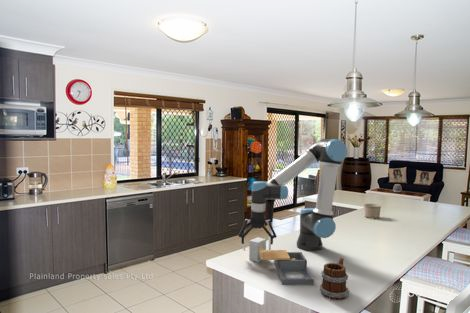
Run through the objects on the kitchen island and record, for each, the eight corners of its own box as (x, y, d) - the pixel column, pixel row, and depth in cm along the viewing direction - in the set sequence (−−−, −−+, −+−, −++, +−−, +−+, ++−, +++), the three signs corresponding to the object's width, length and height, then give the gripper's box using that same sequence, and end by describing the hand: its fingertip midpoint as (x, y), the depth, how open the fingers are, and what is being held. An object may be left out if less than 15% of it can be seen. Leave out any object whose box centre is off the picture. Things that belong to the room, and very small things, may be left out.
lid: (286, 251, 172) (286, 245, 172) (290, 259, 161) (290, 253, 161) (258, 251, 172) (259, 245, 172) (261, 259, 160) (261, 253, 160)
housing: (301, 263, 173) (301, 252, 173) (313, 284, 148) (314, 271, 148) (274, 263, 173) (274, 252, 172) (282, 284, 148) (282, 271, 147)
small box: (257, 255, 184) (257, 236, 183) (266, 258, 180) (266, 238, 180) (248, 259, 178) (249, 240, 177) (257, 262, 174) (257, 242, 174)
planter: (368, 215, 283) (369, 203, 283) (383, 218, 274) (383, 205, 273) (360, 217, 275) (361, 204, 275) (375, 220, 266) (376, 207, 265)
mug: (313, 295, 138) (317, 258, 139) (326, 289, 149) (329, 255, 150) (341, 304, 131) (345, 265, 132) (352, 296, 142) (355, 261, 143)
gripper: (280, 209, 182) (279, 248, 183) (234, 208, 181) (233, 247, 182) (282, 212, 174) (281, 252, 175) (234, 211, 173) (233, 251, 175)
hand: (256, 250), depth 179 cm, fingers open, 13 cm apart
